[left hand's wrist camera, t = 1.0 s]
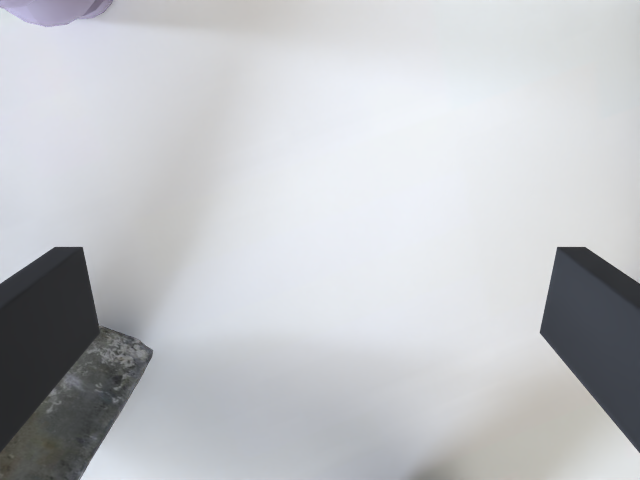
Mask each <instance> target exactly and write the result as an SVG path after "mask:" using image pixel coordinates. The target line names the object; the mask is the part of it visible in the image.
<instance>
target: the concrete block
mask: <svg viewBox="0 0 640 480" xmlns="http://www.w3.org/2000/svg"><path fill="white" fill-rule="evenodd" d="M99 329H100V334H99V335H98V336H97V337H96V338H95V340H94V341H93V342H92V343H91V344H90V346H89V347H88V348H87V349H86V350H85V352H84V353H83V354H82V355H81V356H80V358H79V359H78V360H77V361H76V362H75V364H74V365H73V366H72V367H71V368H70V370H69V371H68V372H67V373H66V374H65V376H64V377H63V378H62V379H61V380H60V382H59V383H58V384H57V385H56V386H55V388H54V389H53V390H52V391H51V393H50V394H49V395H48V396H47V397H46V399H45V400H44V401H43V402H42V403H41V405H40V406H39V407H38V408H37V409H36V411H35V412H34V413H33V414H32V415H31V417H30V418H29V419H28V420H27V421H26V423H25V424H24V425H23V426H22V427H21V429H20V430H19V431H18V432H17V433H16V435H15V436H14V437H13V438H12V439H11V441H10V442H9V443H8V444H7V445H6V447H5V448H4V449H3V450H2V451H1V453H0V480H80V478H81V477H82V475H83V473H84V472H85V470H86V468H87V466H88V464H89V463H90V461H91V459H92V458H93V456H94V454H95V453H96V451H97V450H98V448H99V446H100V445H101V443H102V442H103V440H104V438H105V437H106V435H107V433H108V432H109V430H110V428H111V427H112V425H113V423H114V422H115V420H116V419H117V417H118V415H119V414H120V412H121V411H122V409H123V407H124V405H125V404H126V402H127V400H128V399H129V397H130V395H131V394H132V392H133V390H134V388H135V387H136V385H137V384H138V382H139V380H140V379H141V377H142V375H143V373H144V371H145V369H146V367H147V365H148V363H149V361H150V359H151V358H152V354H153V350H152V349H150V348H148V347H147V346H145V345H144V344H143V343H142V342H141V341H140V340H138V339H136V338H134V337H131V336H127V335H125V334H122V333H119V332H116V331H113V330H111V329H108V328H105V327H103V326H99Z"/></svg>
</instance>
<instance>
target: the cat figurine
mask: <svg viewBox="0 0 640 480" xmlns="http://www.w3.org/2000/svg"><path fill="white" fill-rule="evenodd" d="M112 1H113V0H0V8H4V9H5V10H7V11H8V12H10V13H12V14H13V15H15V16H17V17H18V18H20V19H22V20H23V21H25V22H28V23H32V24H37V25H41V26H45V27H51V26H58V25H65V24H69V23H70V22H72V21H74V20H76V19H77V18H79V19H84V18H93V17H95V16H97V15H99V14H101V13H103V12H104V11H105V10H106V9H107V8H108V7H109V6H110V4H111V3H112Z"/></svg>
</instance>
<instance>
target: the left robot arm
mask: <svg viewBox="0 0 640 480" xmlns="http://www.w3.org/2000/svg"><path fill="white" fill-rule="evenodd" d="M99 334H100V329H99V324H98V320H97V315H96V310H95V305H94V300H93V295H92V290H91V285H90V281H89V276H88V271H87V266H86V261H85V256H84V251H83V247H54V248H53V249H51V250H50V251H48V252H47V253H45V254H44V255H42V256H41V257H39V258H38V259H36V260H35V261H34V262H32V263H31V264H29V265H28V266H26V267H25V268H23V269H22V270H20V271H19V272H17V273H16V274H14V275H13V276H11V277H10V278H8V279H7V280H5V281H4V282H2V283H1V284H0V453H1V451H2V450H3V449H4V448H5V447H6V445H7V444H8V443H9V442H10V441H11V439H12V438H13V437H14V436H15V435H16V433H17V432H18V431H19V430H20V429H21V427H22V426H23V425H24V424H25V423H26V421H27V420H28V419H29V418H30V417H31V415H32V414H33V413H34V412H35V411H36V409H37V408H38V407H39V406H40V405H41V403H42V402H43V401H44V400H45V399H46V397H47V396H48V395H49V394H50V393H51V391H52V390H53V389H54V388H55V386H56V385H57V384H58V383H59V382H60V380H61V379H62V378H63V377H64V376H65V374H66V373H67V372H68V371H69V370H70V368H71V367H72V366H73V365H74V364H75V362H76V361H77V360H78V359H79V358H80V356H81V355H82V354H83V353H84V352H85V350H86V349H87V348H88V347H89V346H90V344H91V343H92V342H93V341H94V340H95V338H96V337H97V336H98V335H99ZM540 334H541V335H542V336H543V337H544V338H545V340H546V341H547V342H548V343H549V344H550V346H551V347H552V348H553V349H554V350H555V352H556V353H557V354H558V355H559V356H560V358H561V359H562V360H563V361H564V362H565V364H566V365H567V366H568V367H569V368H570V370H571V371H572V372H573V373H574V374H575V376H576V377H577V378H578V379H579V380H580V382H581V383H582V384H583V385H584V386H585V388H586V389H587V390H588V391H589V393H590V394H591V395H592V396H593V397H594V399H595V400H596V401H597V402H598V403H599V405H600V406H601V407H602V408H603V409H604V411H605V412H606V413H607V414H608V415H609V417H610V418H611V419H612V420H613V421H614V423H615V424H616V425H617V426H618V427H619V429H620V430H621V431H622V432H623V433H624V435H625V436H626V437H627V438H628V439H629V441H630V442H631V443H632V444H633V445H634V447H635V448H636V449H637V450H638V451H639V453H640V284H639V283H638V282H636V281H635V280H633V279H632V278H630V277H629V276H627V275H626V274H624V273H623V272H621V271H620V270H618V269H617V268H615V267H614V266H612V265H611V264H609V263H608V262H606V261H605V260H604V259H602V258H601V257H599V256H598V255H596V254H595V253H593V252H592V251H590V250H589V249H587V248H586V247H557V251H556V256H555V261H554V266H553V271H552V276H551V281H550V285H549V290H548V295H547V300H546V305H545V310H544V315H543V320H542V324H541V329H540Z"/></svg>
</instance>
